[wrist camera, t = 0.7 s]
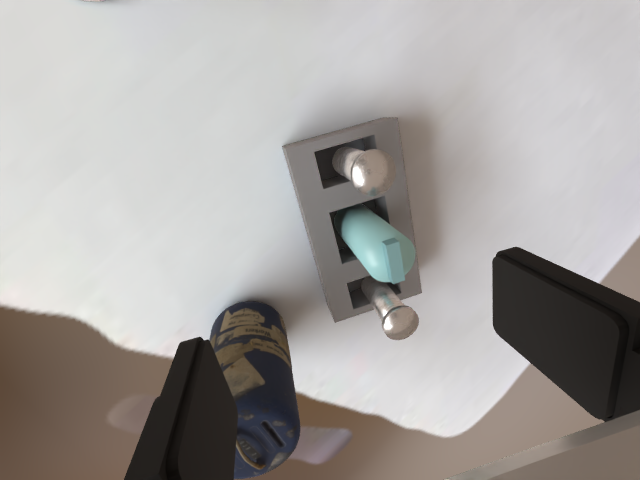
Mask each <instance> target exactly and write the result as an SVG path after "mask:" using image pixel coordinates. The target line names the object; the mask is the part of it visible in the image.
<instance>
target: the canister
mask: <svg viewBox="0 0 640 480" xmlns="http://www.w3.org/2000/svg"><path fill="white" fill-rule="evenodd" d="M210 343H211V345H212V347H213V350H214V352H215V354H216V357H217V359H218V362H219V364H220V367H221V369H222V371H223V374H224V376H225V379H226V381H227V383H228V386H229V388H230V391H231V393H232V395H233V398H234V400H235V403H236V405H237V410H238V424H237V438H236V453H235V467H234V479H244V478H251V477H255V476H259V475H262V474H264V473H267V472H269V471H271V470H273V469H275V468H276V467H278V466H279V465H280V464H282V463H283V462H284V461H285V460H286V459H287V458H288V457H289V456H290V455H291V454H292V452H293V451H294V449H295V448H296V446H297V443H298V440H299V436H300V420H299V413H298V406H297V400H296V393H295V387H294V381H293V374H292V365H291V358H290V351H289V345H288V341H287V335H286V329H285V325H284V322H283V320H282V318H281V316H280V315H279V313H278V312H277V311H276V310H274V309H273V308H272V307H270V306H268V305H266V304H263V303H259V302H242V303H237V304H235V305H233V306H231V307H229V308H227V309H226V310H224V311H223V312H222V313H221V314H220V315H219V316H218V317H217V319H216V320H215V322H214V324H213V327H212V330H211V335H210Z"/></svg>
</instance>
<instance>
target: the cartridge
mask: <svg viewBox="0 0 640 480" xmlns="http://www.w3.org/2000/svg"><path fill="white" fill-rule="evenodd" d="M334 225H335V229H336V231H337V232H338V233H339V235H340V236H341V237H342V239H343V240H344V241H345V242H346V244H347V245H348V246H349V248H350V249H351V250H352V251H353V253H354V254H355V255H356V257H357V258H358V259H359V261H360V262H361V263H362V264H363V266H364V267H365V268H366V270H367V271H368V272H369V274H370V275H371V276H372V277H373V278H374V279H376V280H378V281H381V282H391V283H392V284H395V283H398V282H401V281H404V280H405V275H406V274H407V273H408V272H409V271H410V269H411V268H412V266H413V264H414V261H415V256H416V252H415V247H414V245H413V243H412V242H411V240H409V239H408V238H407V237H406V236H404V235H403V234H402V233H400V232H399V231H398V230H396V229H395V228H394V227H392V226H391V225H390V224H388V223H387V222H386V221H384V220H383V219H382V218H380V217H379V216H378V215H376V214H375V213H374V212H373V211H371V210H370V209H369V208H367V207H366V206H365V205H363V204H361V203H359V204H356V205H353V206H349V207H346V208H343V209H340V210H338V211H337V213H336V215H335V219H334Z"/></svg>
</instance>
